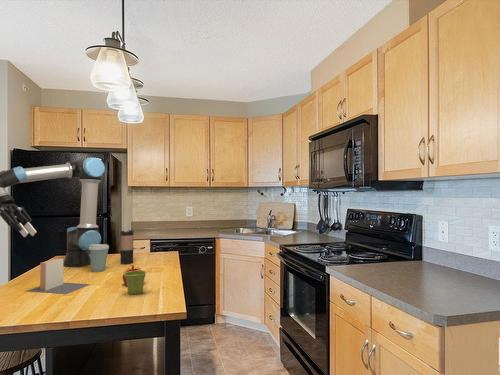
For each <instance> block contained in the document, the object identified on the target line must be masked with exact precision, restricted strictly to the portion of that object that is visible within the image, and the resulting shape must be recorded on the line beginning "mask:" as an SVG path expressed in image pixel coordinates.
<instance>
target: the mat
mask: <svg viewBox="0 0 500 375" xmlns="http://www.w3.org/2000/svg"><path fill="white" fill-rule="evenodd" d="M91 285H92V284H90V283H80V282H79V283H78V282H77V283H75V282H64V281H63V285H60V286H57V287H54V288H51V289H49V290H40V285H39V286H37V287H34V288H33V287H32V288H30V289H28V290H25V292H29V293H30V292H31V293H40V294H42V293H44V294H55V295H58V294H59V295H68V294H71V293H73V292H75V291H78V290H81V289H83V288H86V287H88V286H91Z"/></svg>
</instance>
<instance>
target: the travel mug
mask: <svg viewBox="0 0 500 375" xmlns="http://www.w3.org/2000/svg"><path fill="white" fill-rule="evenodd" d="M119 241H120V243H119V244H120V246H119V248H120V249H119V252H120V253H119V254H120V265H131V264H132V265H133V264H134V230H127V231H124V230H121V231H120V240H119Z"/></svg>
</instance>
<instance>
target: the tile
mask: <svg viewBox="0 0 500 375" xmlns="http://www.w3.org/2000/svg"><path fill="white" fill-rule="evenodd" d="M63 262H64V258H55V259H50V260H47V261H43V262H40V266H39V267H40V273H39V274H40V276H39V277H40V279H39V280H40V281H39V284H40V285H39V286H40V290H49V289H51V288H54V287H57V286H60V285H63V282H64V266H63Z"/></svg>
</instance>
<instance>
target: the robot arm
mask: <svg viewBox="0 0 500 375" xmlns="http://www.w3.org/2000/svg"><path fill="white" fill-rule="evenodd" d="M105 171H106V167H105V164H104V162H103V161H102V160H101V159H99V158H97V157H92V156H91V157H87V158H81V159H78V160H75V161H74V160H73V161H68V162H66V163H64V164H56V165H45V166H37V167H29V168H28V167H26V168H23V167H22V166H16V167H12V168H11V169H7V170H1V171H0V217H1V218H2V219H3V221H4V222H5V223H6V224H7V225H8V226H9V227H11V228H12V229H14V228H15V229H16V230H17V232H19V233H20V234H21V236H23V238H26V237H27V236H28V235H29V234H30V236H32V237H34V236H35V235H36V234H37V230H36V229H35V228H34V226H33V225H32V224H31V223H32V222H33V218H31V216H30V215H29V214H28V212H27V211H26V210H25V207H24V206H21V207H19V206H18V205H17V204H15V199H14V198H13V196H12V195H10V193H9V191H8V190H7V189H6V188H8V187H11V186H13V185H16V184H21V183H29V182H30V183H31V182H36V181H37V182H38V181H44V180H45V181H46V180H53V179H60V178H61V179H62V178H68V179H75V178H79V181H80V182H81V199H80V213H79V214H80V217H79V224H78V225H76V226H71V227H68V228H67V229H66V254H65V257H64V258H63V267H64V268H65V267H66V268H67V267H68V268H75V267H76V268H77V267H84V266H85V267H86V266H88V265H91V260H90V252H89V246H90V245H91V244H101V241H102V236H101V234H100V232H99V225H97V208H98V191H99V183H101V181H102V176H103V175H104V173H105ZM18 220H19V221H20V222H19V221H18Z"/></svg>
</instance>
